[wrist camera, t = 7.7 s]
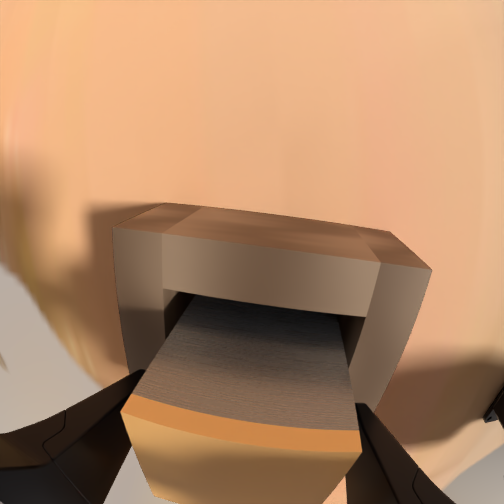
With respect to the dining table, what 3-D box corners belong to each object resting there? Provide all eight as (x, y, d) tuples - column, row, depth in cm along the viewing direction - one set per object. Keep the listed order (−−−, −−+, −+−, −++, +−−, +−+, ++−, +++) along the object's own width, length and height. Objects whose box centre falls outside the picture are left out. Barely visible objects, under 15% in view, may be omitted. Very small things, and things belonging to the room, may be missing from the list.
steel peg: (327, 276, 13) (362, 451, 5) (307, 362, 15) (305, 522, 6) (217, 261, 13) (120, 411, 5) (213, 348, 15) (153, 496, 7)
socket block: (389, 231, 12) (432, 269, 8) (338, 397, 15) (345, 459, 11) (166, 202, 13) (112, 227, 9) (171, 372, 16) (142, 427, 12)
